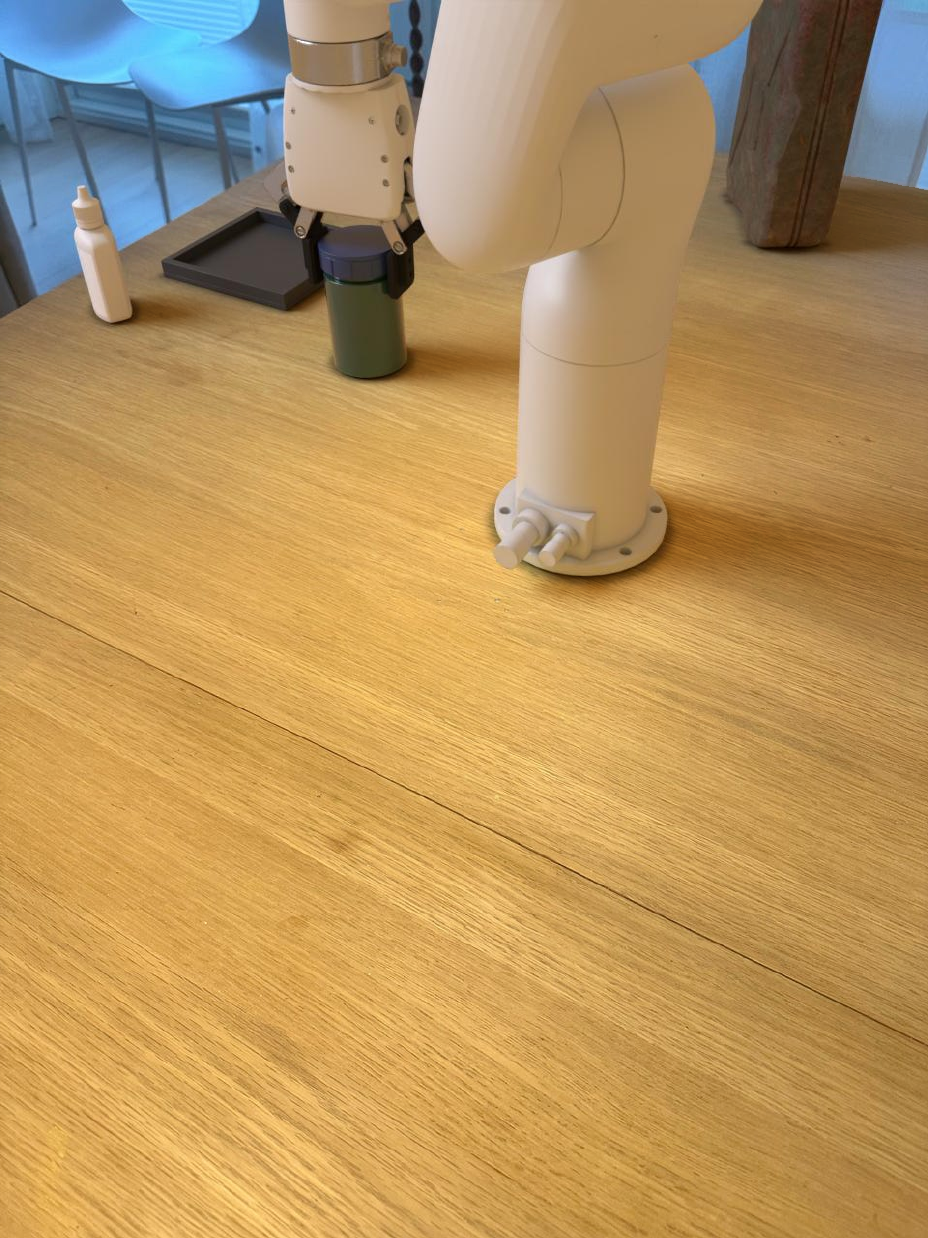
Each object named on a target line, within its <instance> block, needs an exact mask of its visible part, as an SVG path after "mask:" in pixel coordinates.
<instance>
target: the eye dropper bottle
mask: <svg viewBox="0 0 928 1238" xmlns="http://www.w3.org/2000/svg"><path fill="white" fill-rule="evenodd" d="M76 189H77V191H76V192H77V198H76V199H75V200H73V201H72V202H71V208H72V211H73V215H74V220H75V222H76V227H75V229H74V233H73V237H74V238H73V239H74V242H75V247H76V249H77V253H78V257H79V262H80V264H81V268H82V272H83V276H84V280H85V284H86V287H87V291H88V294H89V298H90V302H91V305H92V308H93V311H94V313H95V315H96V316H97V317H98V318H99V319H100V320H102V321H104V322H107V323H111V324H113V323H117V322H122V321H125V320H128V319H131V317H132V315H133V307H132V302H131V299H130V294H129V290H128V286H127V282H126V278H125V274H124V270H123V266H122V262H121V258H120V253H119V249H118V246H117V245H118V244H117V241H116V238H115V236H114V233H113V232H112V230H111V229H110V227H109V226H108V225H107V224H106V223H105V219H104V215H103V211H102V207H101V203H100V200H99V199H98V198H96V197H92V196H90V194H89V192H88V189H87V187H86V185H82V184H81V185H78V186H77V187H76Z"/></svg>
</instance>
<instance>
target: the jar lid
mask: <svg viewBox="0 0 928 1238" xmlns="http://www.w3.org/2000/svg"><path fill="white" fill-rule="evenodd" d="M391 249H392V248H391V245H390V243H389V241H388V239H387V237H386V235H385V233H384V231H383V229H382V227H381V225H376V224H375V225H374V224H354V225H346V226H342V228H338V229H335V230H332V231H330V232H328V233H326V234H325V235H323V236H322V237H321V238H320V239H319V241H318V250H319V258H320V266H321V269H322V270H323V271H324V272H325V273H327V274H329V275H331V276H334V277H338V278H344V279H367V278H374V277H378V276H382V275H385V274H387V262H386V255H387V253H388V252H389V251H390V250H391Z"/></svg>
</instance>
